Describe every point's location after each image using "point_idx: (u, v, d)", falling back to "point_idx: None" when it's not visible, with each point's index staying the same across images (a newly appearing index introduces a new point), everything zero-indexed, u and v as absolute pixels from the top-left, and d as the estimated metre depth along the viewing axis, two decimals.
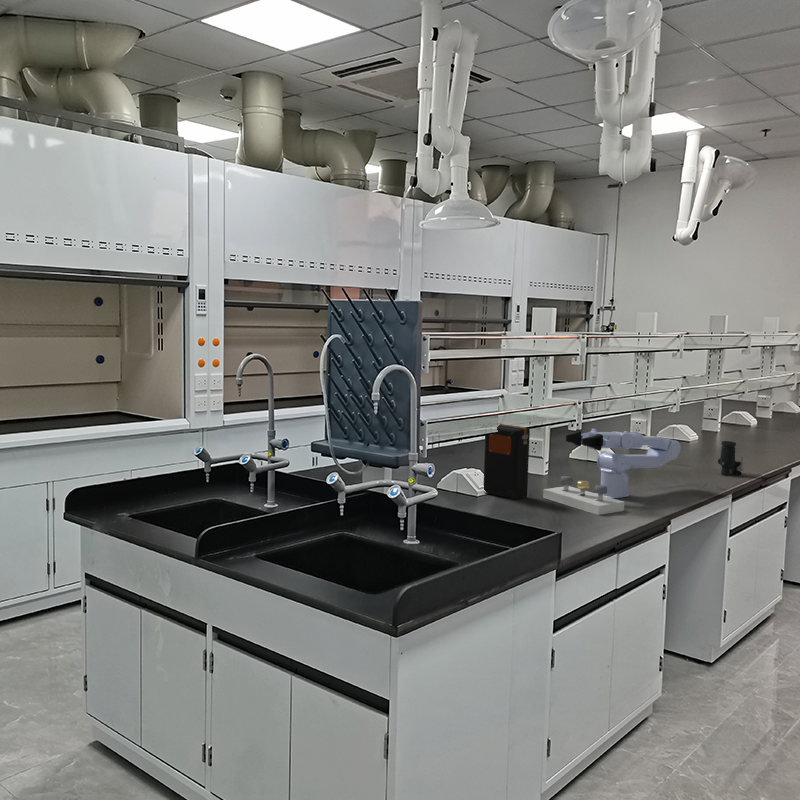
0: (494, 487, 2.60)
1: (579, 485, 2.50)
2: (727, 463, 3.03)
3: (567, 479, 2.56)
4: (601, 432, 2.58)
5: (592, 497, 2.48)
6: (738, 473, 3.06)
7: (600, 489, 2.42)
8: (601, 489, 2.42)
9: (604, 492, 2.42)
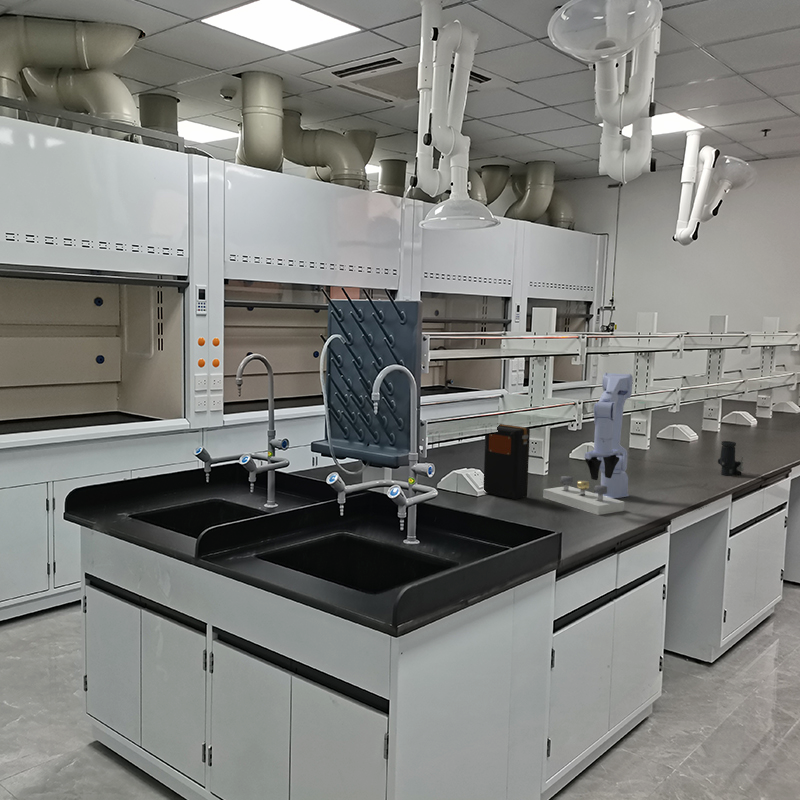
0: (494, 487, 2.60)
1: (579, 485, 2.50)
2: (727, 463, 3.03)
3: (567, 479, 2.56)
4: (610, 443, 2.40)
5: (592, 497, 2.48)
6: (738, 473, 3.06)
7: (600, 489, 2.42)
8: (601, 489, 2.42)
9: (604, 492, 2.42)
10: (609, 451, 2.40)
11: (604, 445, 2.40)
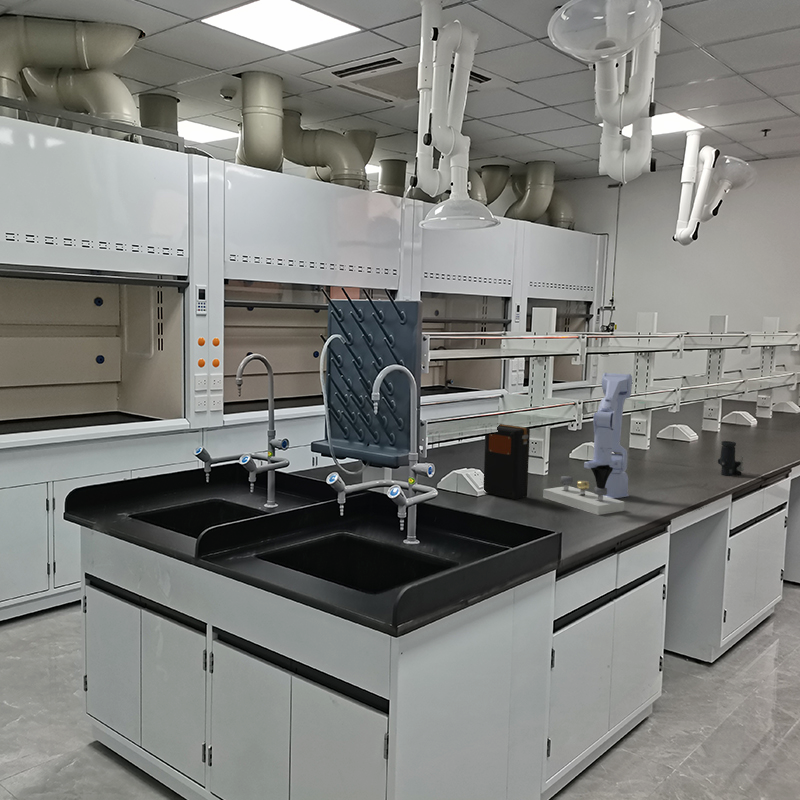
0: (494, 487, 2.60)
1: (579, 485, 2.50)
2: (727, 463, 3.03)
3: (567, 479, 2.56)
4: (610, 453, 2.41)
5: (592, 497, 2.48)
6: (738, 473, 3.06)
7: (600, 490, 2.42)
8: (601, 490, 2.42)
9: (604, 493, 2.42)
10: (608, 461, 2.41)
11: (604, 455, 2.40)
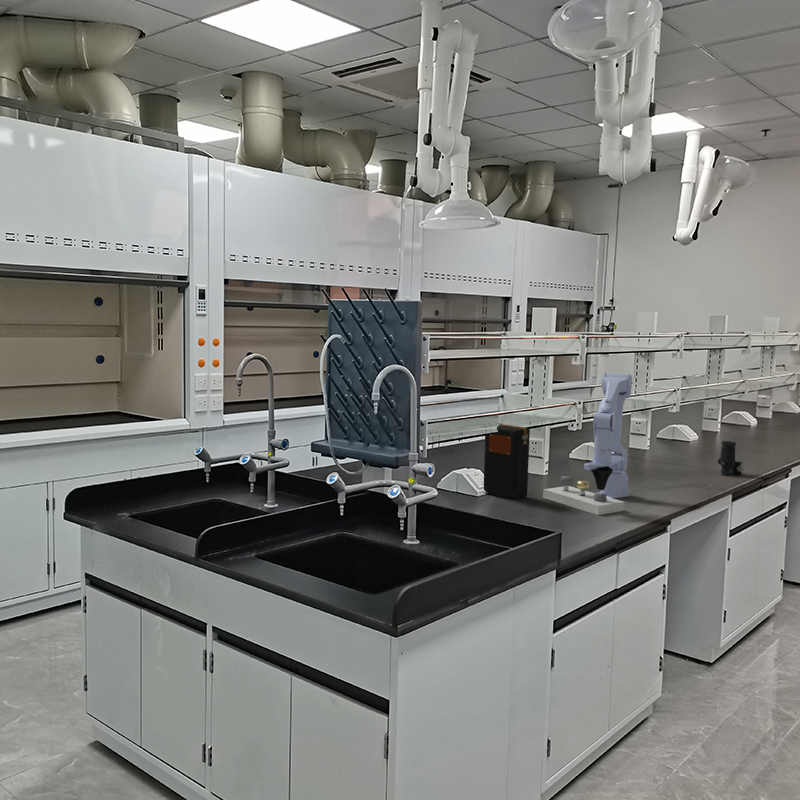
0: (494, 487, 2.60)
1: (579, 485, 2.50)
2: (727, 463, 3.03)
3: (567, 479, 2.56)
4: (610, 454, 2.41)
5: (592, 497, 2.48)
6: (738, 473, 3.06)
7: (600, 497, 2.42)
8: (601, 497, 2.42)
9: (604, 500, 2.43)
10: (608, 462, 2.41)
11: (604, 456, 2.40)
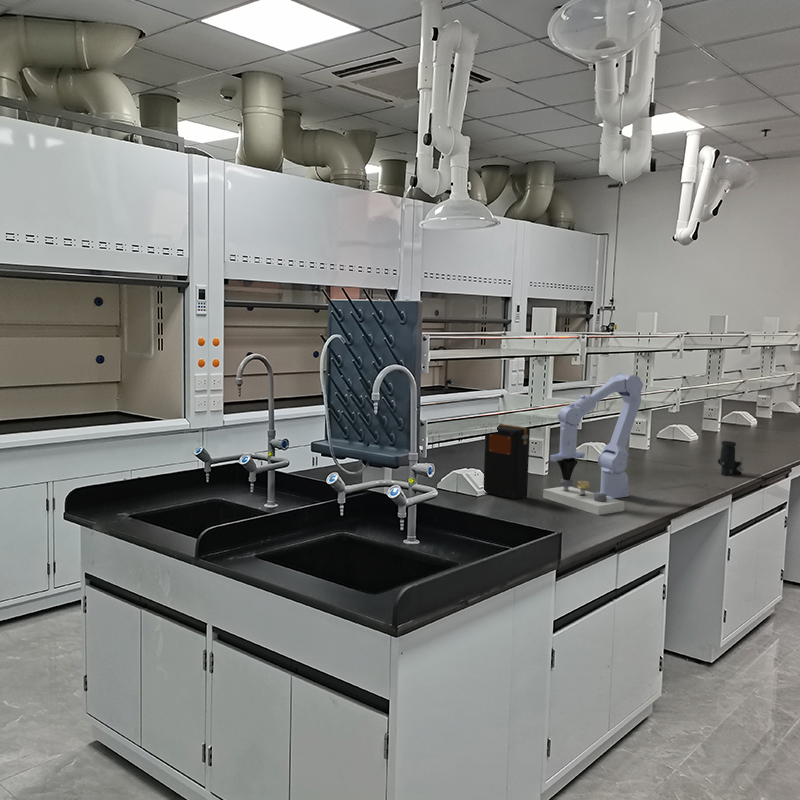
0: (494, 487, 2.60)
1: (579, 485, 2.50)
2: (727, 463, 3.03)
3: (567, 482, 2.56)
4: (574, 446, 2.54)
5: (592, 497, 2.48)
6: (738, 473, 3.06)
7: (600, 497, 2.42)
8: (601, 497, 2.42)
9: (604, 500, 2.43)
10: (573, 454, 2.54)
11: (569, 448, 2.54)
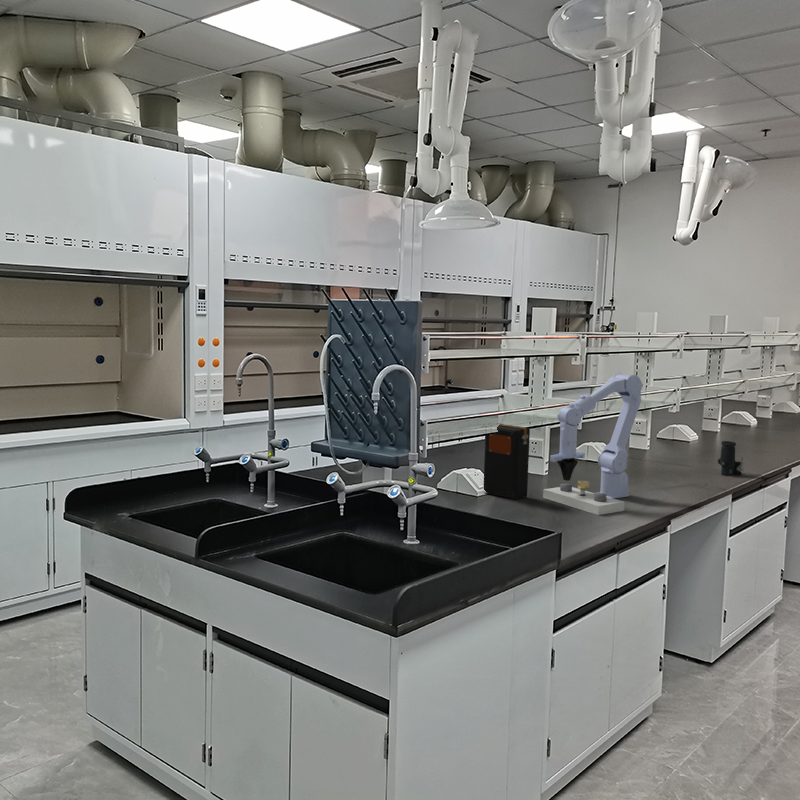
0: (494, 487, 2.60)
1: (579, 485, 2.50)
2: (727, 463, 3.03)
3: (567, 487, 2.56)
4: (574, 446, 2.54)
5: (592, 497, 2.48)
6: (738, 473, 3.06)
7: (600, 497, 2.42)
8: (601, 497, 2.42)
9: (604, 500, 2.43)
10: (573, 454, 2.54)
11: (569, 448, 2.54)
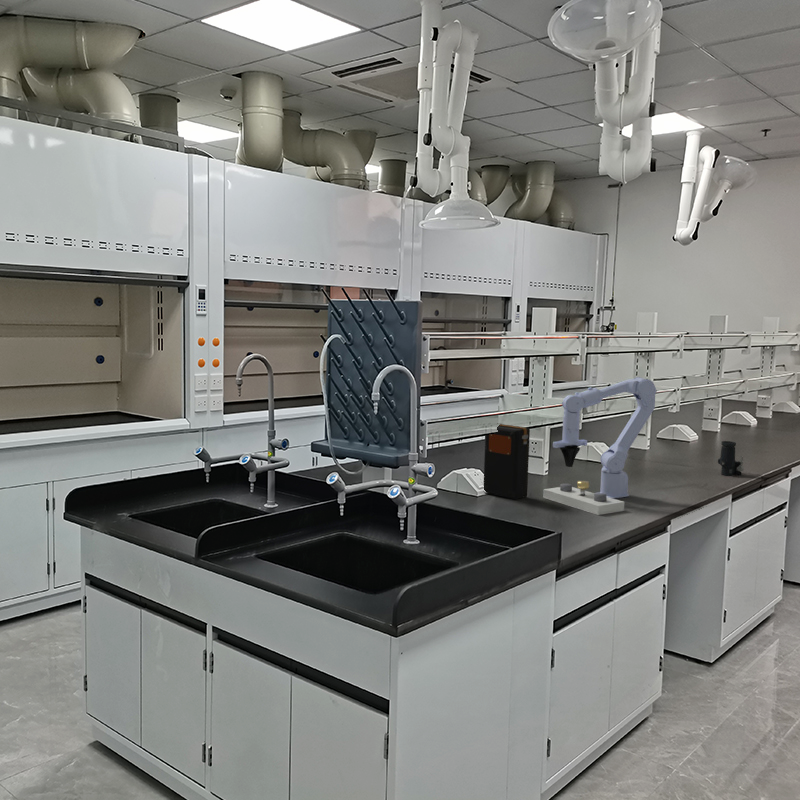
0: (494, 487, 2.60)
1: (579, 485, 2.50)
2: (727, 463, 3.03)
3: (567, 487, 2.56)
4: (577, 433, 2.60)
5: (592, 497, 2.48)
6: (738, 473, 3.06)
7: (600, 497, 2.42)
8: (601, 497, 2.42)
9: (604, 500, 2.43)
10: (576, 441, 2.60)
11: (571, 435, 2.59)
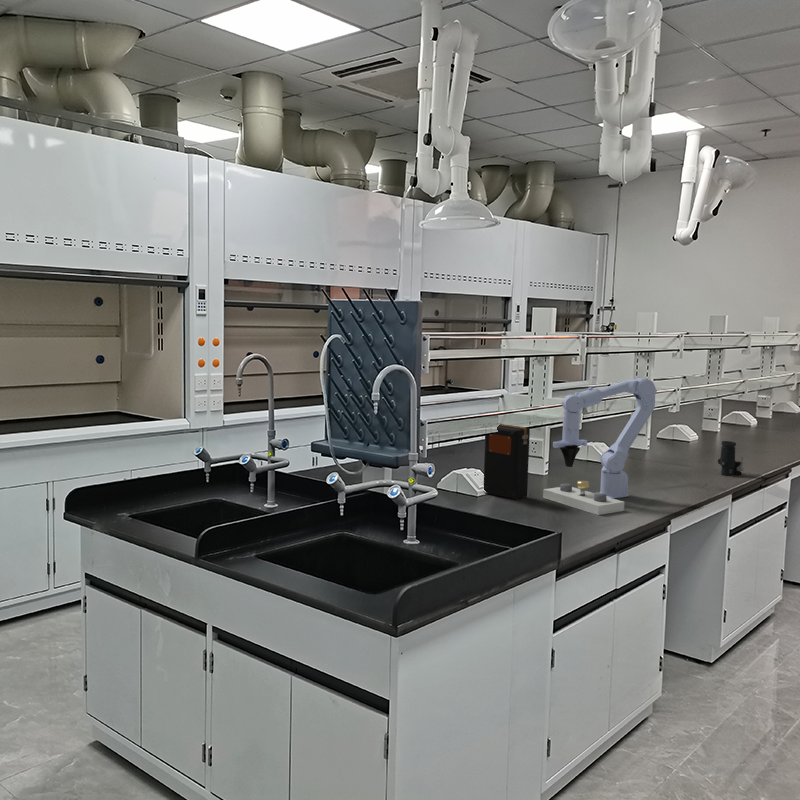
0: (494, 487, 2.60)
1: (579, 485, 2.50)
2: (727, 463, 3.03)
3: (567, 487, 2.56)
4: (577, 433, 2.60)
5: (592, 497, 2.48)
6: (738, 473, 3.06)
7: (600, 497, 2.42)
8: (601, 497, 2.42)
9: (604, 500, 2.43)
10: (576, 441, 2.60)
11: (571, 435, 2.59)
